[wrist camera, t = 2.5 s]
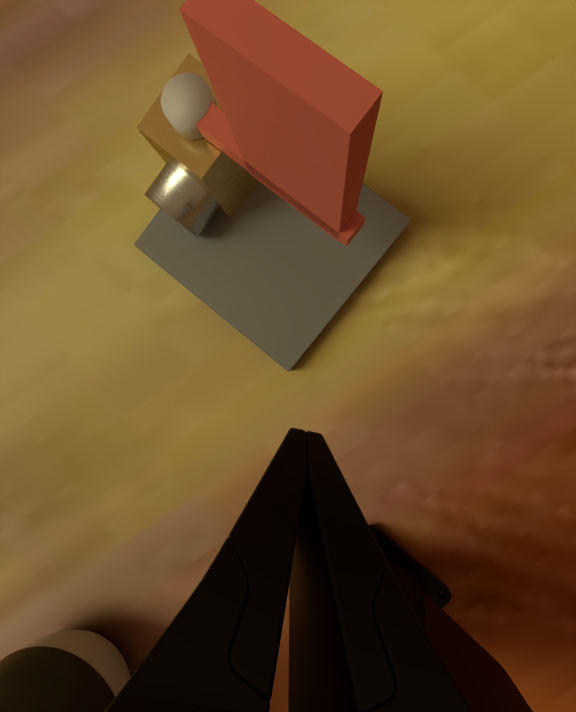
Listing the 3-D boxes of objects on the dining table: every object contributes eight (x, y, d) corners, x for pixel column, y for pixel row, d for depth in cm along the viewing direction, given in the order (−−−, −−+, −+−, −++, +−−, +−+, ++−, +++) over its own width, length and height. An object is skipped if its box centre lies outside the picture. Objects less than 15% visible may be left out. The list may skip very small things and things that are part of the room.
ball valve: (295, 133, 20) (286, 63, 15) (209, 248, 21) (174, 216, 16) (242, 94, 21) (216, 13, 16) (160, 208, 21) (110, 165, 16)
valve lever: (162, 122, 16) (22, -76, 9) (191, 82, 16) (73, -157, 8) (338, 257, 15) (350, 166, 8) (370, 216, 15) (416, 81, 7)
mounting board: (407, 226, 21) (411, 219, 20) (290, 370, 22) (288, 371, 21) (246, 106, 22) (242, 94, 21) (142, 249, 23) (133, 244, 22)
